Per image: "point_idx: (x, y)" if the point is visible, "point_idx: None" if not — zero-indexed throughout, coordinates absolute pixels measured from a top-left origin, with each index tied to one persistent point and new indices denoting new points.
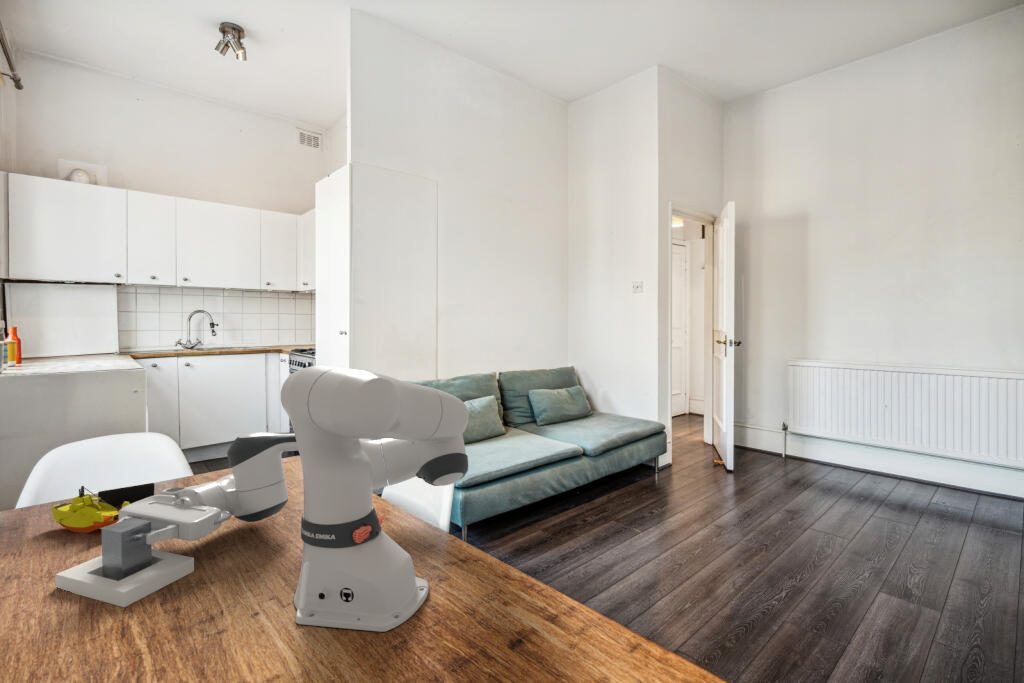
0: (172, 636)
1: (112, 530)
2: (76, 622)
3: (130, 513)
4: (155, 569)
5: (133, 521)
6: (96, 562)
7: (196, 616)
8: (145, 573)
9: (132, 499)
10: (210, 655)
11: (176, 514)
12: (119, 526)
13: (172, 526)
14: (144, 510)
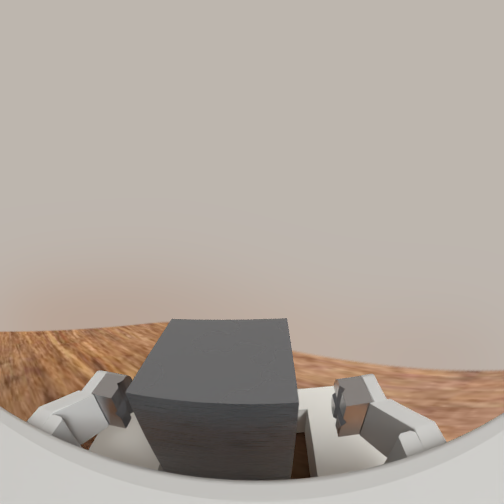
0: (40, 361)
1: (224, 321)
2: None
3: (443, 444)
4: (126, 456)
5: (227, 380)
6: (357, 439)
7: (23, 386)
8: (138, 438)
9: None
10: (7, 343)
11: (48, 493)
12: (235, 339)
13: (41, 416)
14: (402, 501)
